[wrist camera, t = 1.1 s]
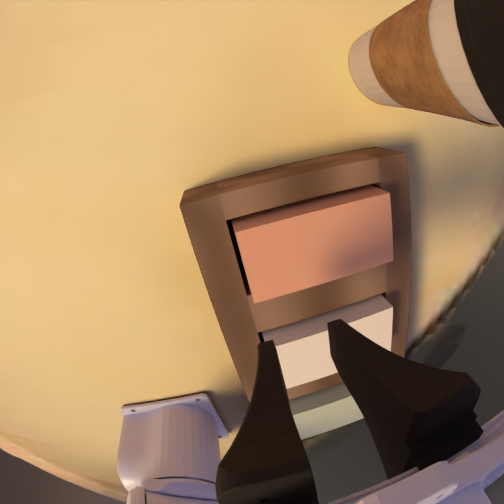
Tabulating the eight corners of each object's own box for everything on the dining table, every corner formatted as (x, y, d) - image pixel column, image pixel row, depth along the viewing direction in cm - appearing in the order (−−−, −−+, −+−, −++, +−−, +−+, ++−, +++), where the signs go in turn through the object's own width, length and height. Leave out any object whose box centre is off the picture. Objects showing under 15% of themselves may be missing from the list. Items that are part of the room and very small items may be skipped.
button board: (260, 415, 30) (267, 445, 26) (184, 191, 20) (179, 205, 16) (382, 374, 30) (398, 399, 27) (374, 146, 21) (405, 152, 17)
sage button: (283, 410, 28) (293, 442, 24) (276, 383, 26) (286, 417, 22) (368, 382, 28) (384, 409, 25) (368, 352, 26) (387, 381, 23)
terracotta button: (245, 272, 21) (254, 303, 18) (229, 212, 20) (235, 232, 16) (365, 238, 22) (393, 260, 18) (358, 180, 20) (389, 192, 16)
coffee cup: (345, 1, 16) (492, -81, 2) (432, 51, 18) (586, 41, 4) (317, 95, 19) (498, 74, 5) (411, 138, 21) (580, 182, 7)
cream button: (268, 356, 25) (278, 391, 21) (256, 314, 23) (266, 349, 19) (369, 323, 25) (390, 351, 21) (367, 280, 23) (393, 306, 20)
